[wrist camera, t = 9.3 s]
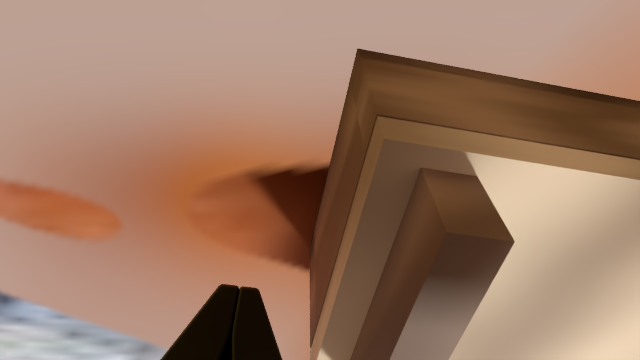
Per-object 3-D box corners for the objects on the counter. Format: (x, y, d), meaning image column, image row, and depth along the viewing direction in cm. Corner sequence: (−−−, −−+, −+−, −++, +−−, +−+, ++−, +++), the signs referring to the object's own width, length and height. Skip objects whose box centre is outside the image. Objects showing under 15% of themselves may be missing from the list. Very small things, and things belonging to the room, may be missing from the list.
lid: (855, 196, 11) (1018, 290, 8) (660, 386, 15) (729, 485, 13) (377, 115, 9) (402, 200, 7) (310, 351, 14) (310, 455, 11)
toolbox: (713, 114, 15) (851, 193, 11) (588, 284, 19) (657, 383, 15) (357, 48, 13) (377, 113, 10) (309, 248, 18) (309, 348, 14)
